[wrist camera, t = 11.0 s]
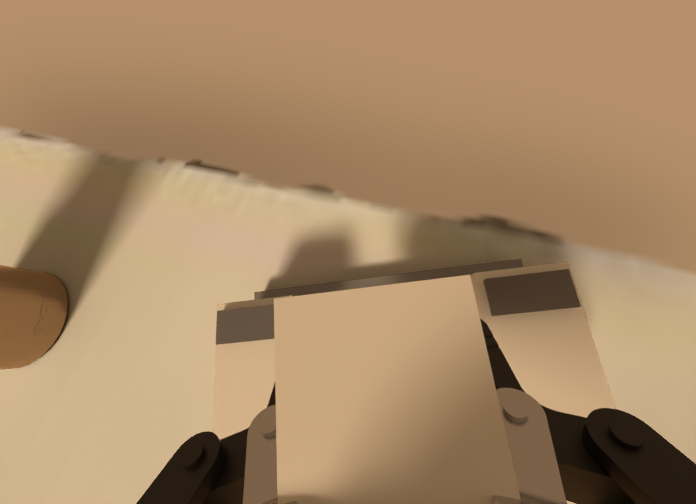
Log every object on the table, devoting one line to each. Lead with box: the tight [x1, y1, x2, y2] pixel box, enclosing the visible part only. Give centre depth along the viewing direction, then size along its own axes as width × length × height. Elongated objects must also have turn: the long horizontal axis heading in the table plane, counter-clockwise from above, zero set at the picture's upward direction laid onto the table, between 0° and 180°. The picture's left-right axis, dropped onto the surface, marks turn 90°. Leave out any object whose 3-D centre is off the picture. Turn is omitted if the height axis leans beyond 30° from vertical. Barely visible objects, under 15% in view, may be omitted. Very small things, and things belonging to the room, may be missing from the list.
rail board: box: [213, 259, 616, 439], centre depth 19 cm, size 21×12×7 cm, turn 96°
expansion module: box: [274, 275, 521, 504], centre depth 10 cm, size 4×6×10 cm
